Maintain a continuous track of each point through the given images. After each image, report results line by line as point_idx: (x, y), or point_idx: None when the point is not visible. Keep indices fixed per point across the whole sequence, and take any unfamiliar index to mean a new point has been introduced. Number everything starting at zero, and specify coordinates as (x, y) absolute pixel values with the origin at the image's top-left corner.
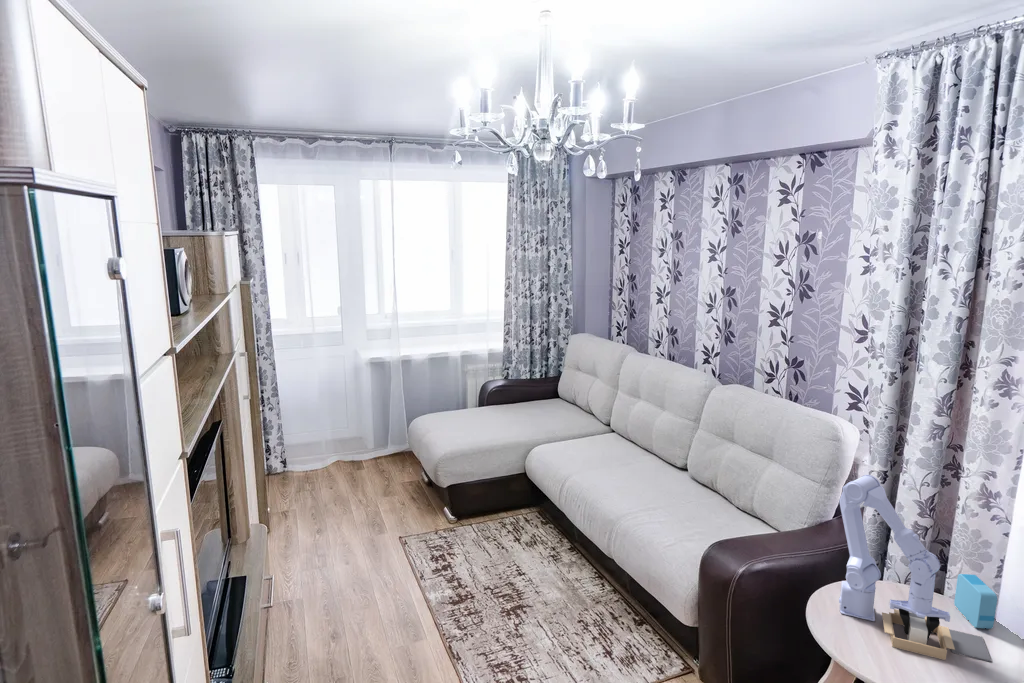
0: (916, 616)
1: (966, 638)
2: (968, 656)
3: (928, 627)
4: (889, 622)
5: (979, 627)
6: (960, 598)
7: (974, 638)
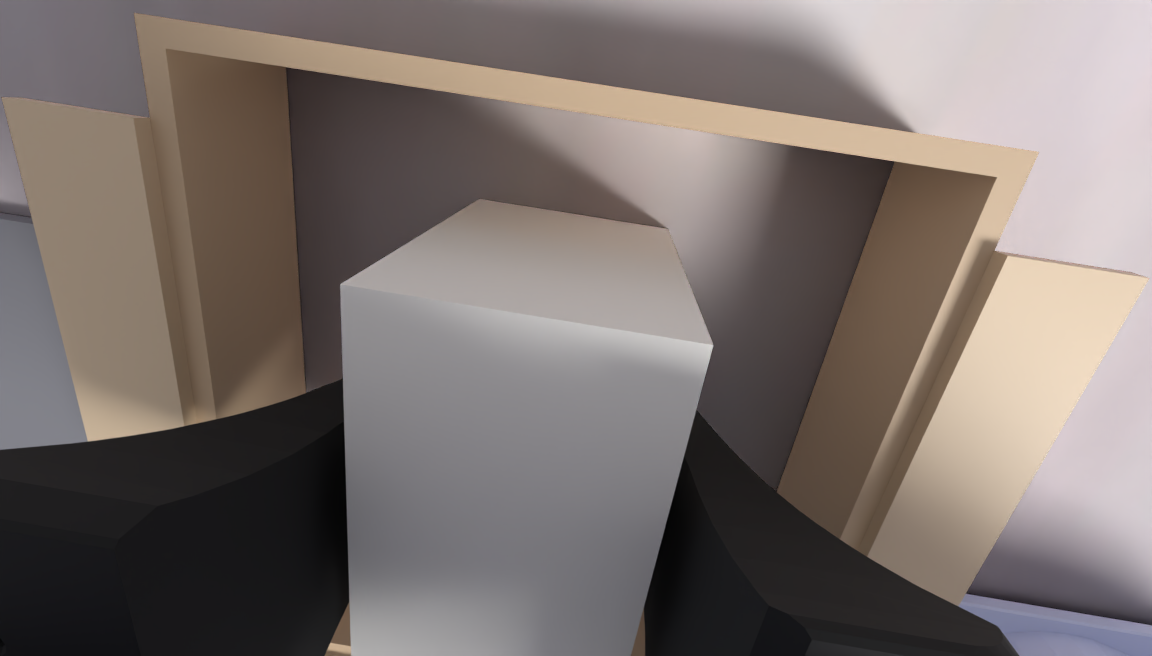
0: None
1: None
2: (24, 218)
3: (313, 452)
4: (895, 547)
5: None
6: None
7: None
